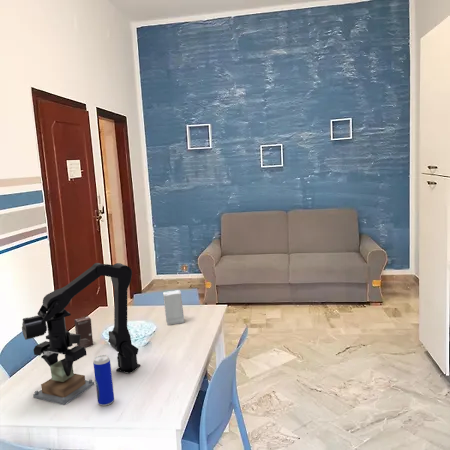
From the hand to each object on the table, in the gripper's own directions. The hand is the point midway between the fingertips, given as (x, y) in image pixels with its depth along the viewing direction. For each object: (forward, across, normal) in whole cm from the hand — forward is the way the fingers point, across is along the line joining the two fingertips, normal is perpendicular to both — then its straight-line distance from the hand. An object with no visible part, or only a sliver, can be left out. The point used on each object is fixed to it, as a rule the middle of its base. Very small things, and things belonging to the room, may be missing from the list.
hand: (62, 374), depth 157 cm
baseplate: (+6, 0, 0) cm, 6 cm away
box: (+6, +21, -33) cm, 40 cm away
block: (+1, 0, 0) cm, 1 cm away
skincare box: (+6, -2, -68) cm, 68 cm away
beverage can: (+6, -19, +1) cm, 20 cm away
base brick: (+6, 0, 0) cm, 6 cm away
